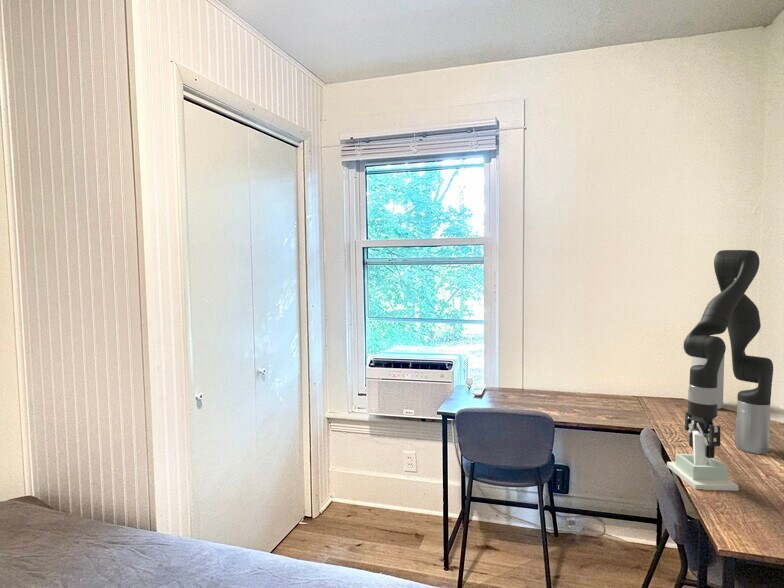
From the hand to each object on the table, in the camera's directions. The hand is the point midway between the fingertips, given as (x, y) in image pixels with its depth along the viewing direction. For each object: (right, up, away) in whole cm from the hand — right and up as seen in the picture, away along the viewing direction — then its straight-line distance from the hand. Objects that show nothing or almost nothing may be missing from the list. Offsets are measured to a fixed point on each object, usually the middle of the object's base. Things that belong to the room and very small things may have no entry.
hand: (701, 452), depth 142 cm
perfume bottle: (0, -7, +1) cm, 7 cm away
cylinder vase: (+52, -4, +74) cm, 90 cm away
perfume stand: (0, -8, 0) cm, 8 cm away
